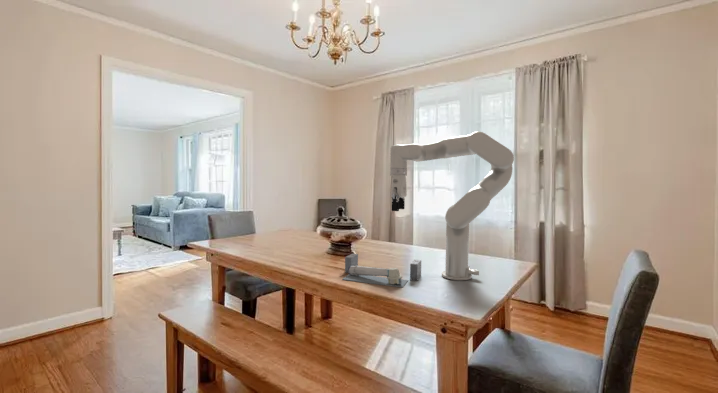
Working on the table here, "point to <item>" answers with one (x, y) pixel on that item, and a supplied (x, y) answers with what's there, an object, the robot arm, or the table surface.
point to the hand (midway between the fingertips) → (398, 210)
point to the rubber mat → (373, 280)
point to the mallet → (377, 273)
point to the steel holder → (414, 266)
